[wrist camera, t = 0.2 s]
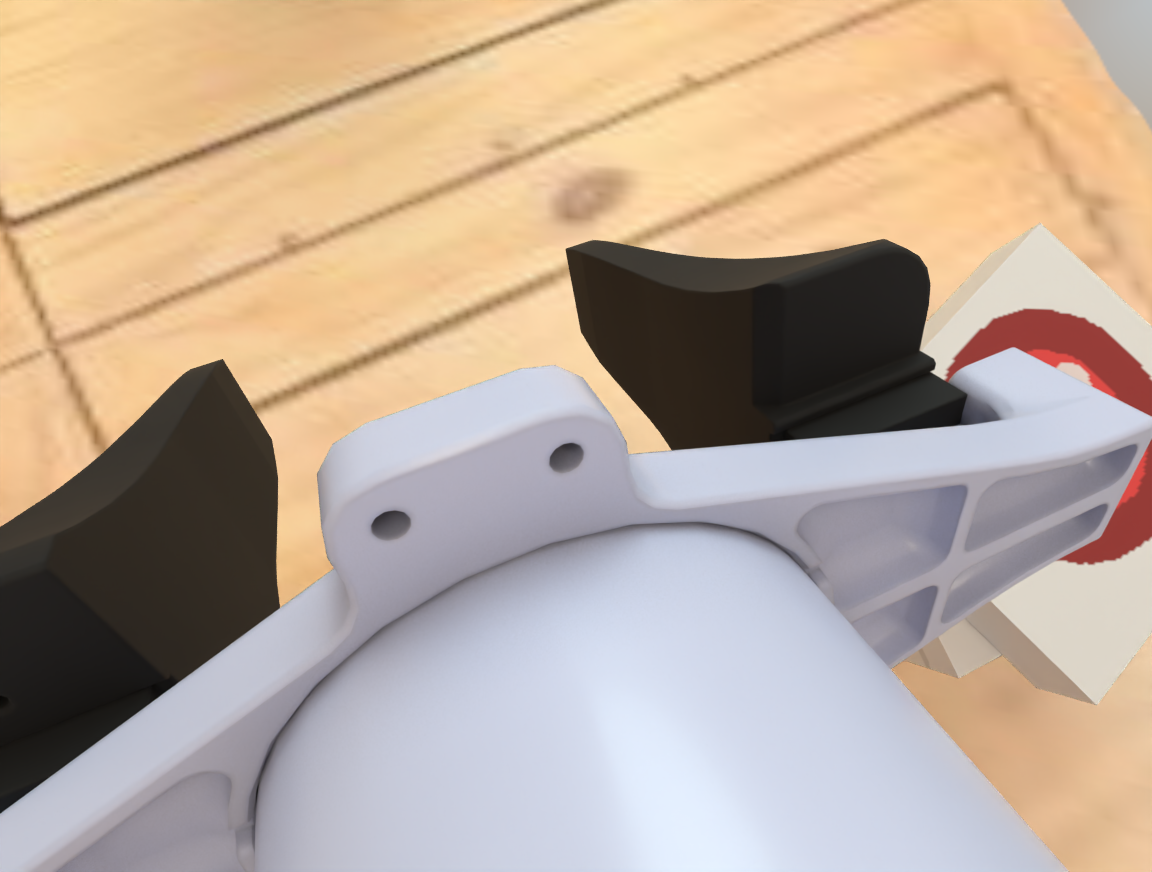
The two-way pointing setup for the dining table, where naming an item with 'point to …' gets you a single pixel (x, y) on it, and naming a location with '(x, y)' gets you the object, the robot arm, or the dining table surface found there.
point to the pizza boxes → (1144, 513)
